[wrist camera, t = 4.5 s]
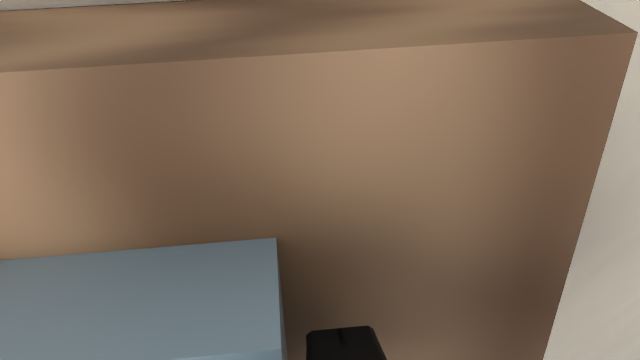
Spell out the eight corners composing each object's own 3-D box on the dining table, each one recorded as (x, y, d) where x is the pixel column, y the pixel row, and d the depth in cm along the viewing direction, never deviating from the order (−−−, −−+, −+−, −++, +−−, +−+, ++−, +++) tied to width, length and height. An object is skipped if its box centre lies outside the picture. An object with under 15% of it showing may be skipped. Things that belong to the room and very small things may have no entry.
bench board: (544, -20, 12) (637, 32, 9) (474, 357, 18) (514, 456, 15) (-155, 19, 11) (-303, 91, 8) (38, 401, 17) (-6, 515, 14)
